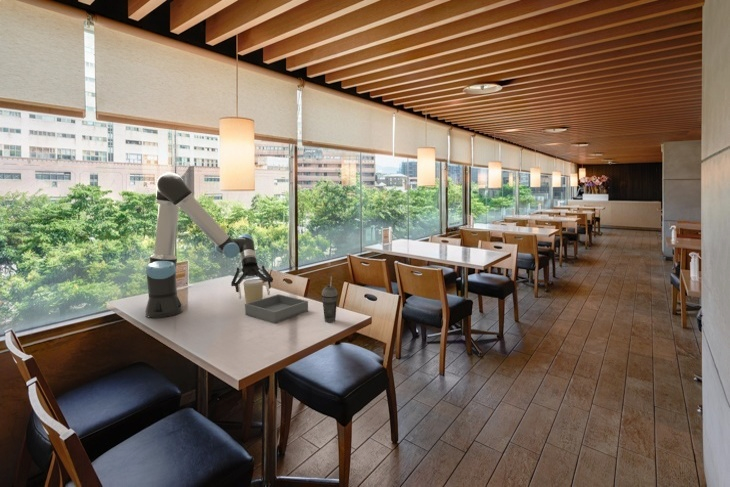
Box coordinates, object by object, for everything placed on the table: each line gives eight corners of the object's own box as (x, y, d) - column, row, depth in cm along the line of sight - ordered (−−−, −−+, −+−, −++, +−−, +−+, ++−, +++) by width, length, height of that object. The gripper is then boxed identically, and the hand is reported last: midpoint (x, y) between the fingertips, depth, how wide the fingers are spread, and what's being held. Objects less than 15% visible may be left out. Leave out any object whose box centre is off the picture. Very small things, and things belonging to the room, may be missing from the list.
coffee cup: (266, 302, 190) (265, 279, 189) (259, 307, 181) (258, 283, 179) (248, 301, 191) (247, 278, 190) (241, 307, 182) (240, 283, 180)
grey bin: (275, 323, 160) (274, 312, 159) (245, 314, 171) (244, 304, 171) (308, 311, 176) (307, 301, 175) (278, 303, 188) (278, 294, 187)
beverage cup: (329, 317, 168) (329, 273, 165) (341, 320, 164) (341, 275, 161) (318, 321, 163) (317, 276, 160) (330, 325, 158) (329, 278, 155)
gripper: (272, 262, 203) (279, 296, 192) (223, 266, 193) (227, 302, 182) (274, 254, 198) (281, 288, 186) (223, 257, 187) (228, 294, 176)
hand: (254, 295), depth 184 cm, fingers open, 13 cm apart
